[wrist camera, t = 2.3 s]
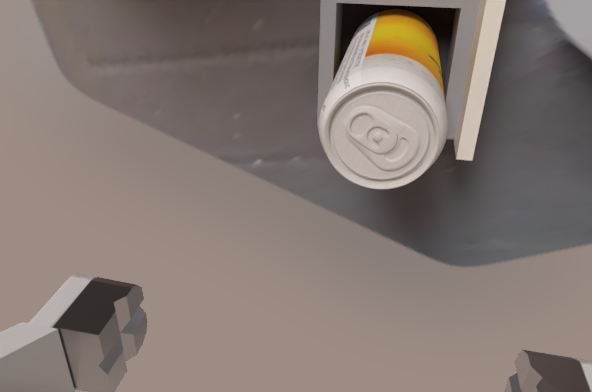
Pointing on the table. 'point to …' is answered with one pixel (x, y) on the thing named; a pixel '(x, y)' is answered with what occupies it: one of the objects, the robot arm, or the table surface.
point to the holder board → (460, 64)
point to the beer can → (386, 103)
